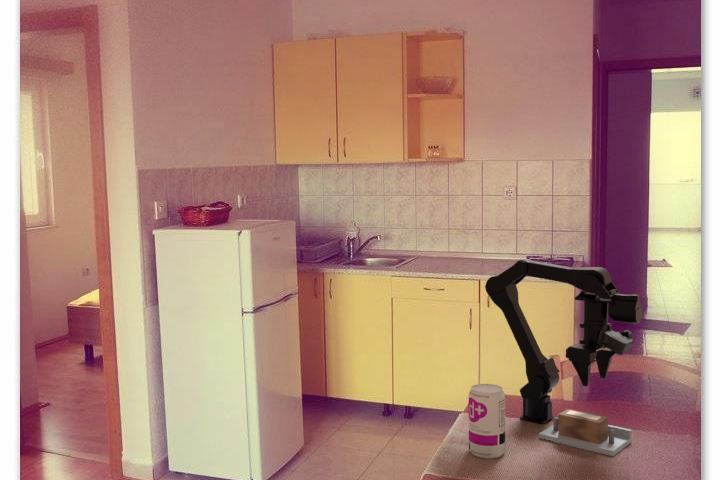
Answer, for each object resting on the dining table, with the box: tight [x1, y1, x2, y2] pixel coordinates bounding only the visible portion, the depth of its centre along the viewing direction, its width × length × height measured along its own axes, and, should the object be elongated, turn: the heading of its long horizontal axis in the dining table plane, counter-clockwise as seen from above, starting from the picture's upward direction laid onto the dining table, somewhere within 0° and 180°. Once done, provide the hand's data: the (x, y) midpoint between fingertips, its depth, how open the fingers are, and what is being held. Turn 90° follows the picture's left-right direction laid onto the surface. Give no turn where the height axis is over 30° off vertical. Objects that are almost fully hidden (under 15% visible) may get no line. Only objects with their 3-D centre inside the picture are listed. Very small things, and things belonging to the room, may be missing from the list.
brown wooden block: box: [557, 408, 609, 444], centre depth 166 cm, size 10×5×5 cm, turn 49°
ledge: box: [538, 414, 633, 457], centre depth 167 cm, size 18×11×4 cm, turn 49°
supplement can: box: [468, 383, 506, 460], centre depth 160 cm, size 8×8×15 cm
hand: (594, 382), depth 173 cm, fingers open, 9 cm apart
